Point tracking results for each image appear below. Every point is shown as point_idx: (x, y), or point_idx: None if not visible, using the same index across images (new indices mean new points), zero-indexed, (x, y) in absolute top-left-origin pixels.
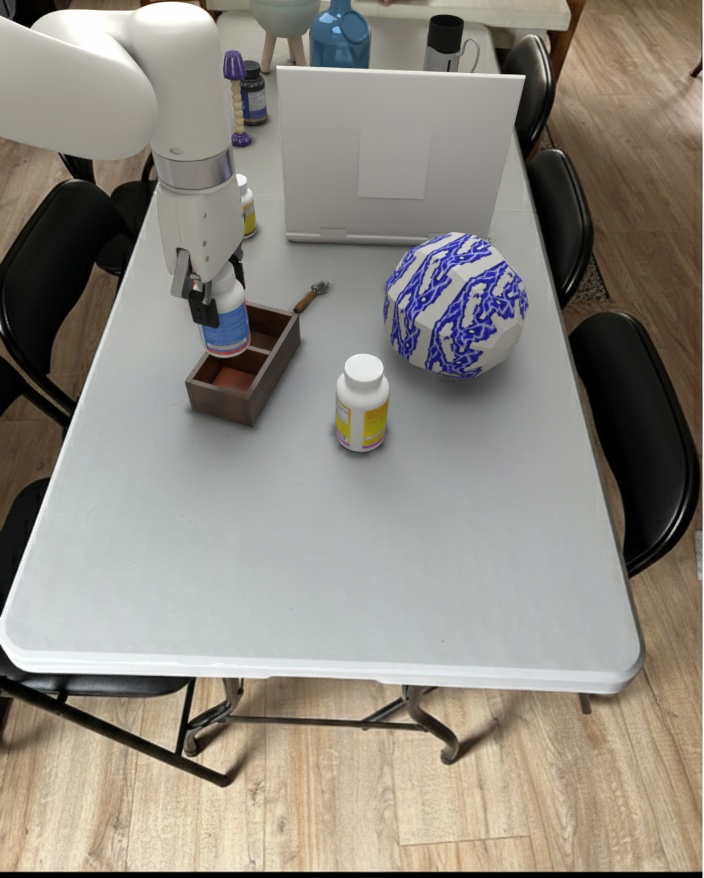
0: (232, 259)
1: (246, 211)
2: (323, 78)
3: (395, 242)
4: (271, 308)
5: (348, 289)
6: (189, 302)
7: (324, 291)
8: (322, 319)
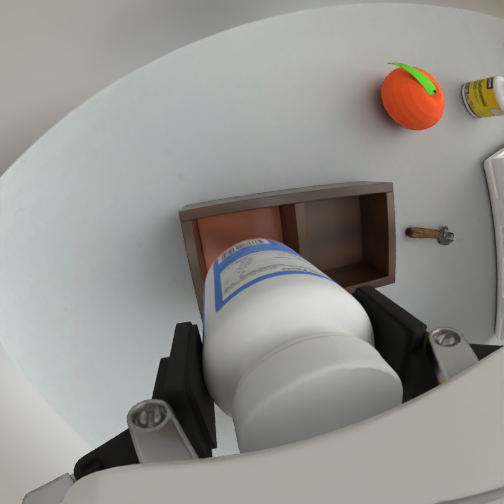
0: (413, 395)
1: (496, 110)
2: None
3: (499, 271)
4: (393, 238)
5: (450, 263)
6: (168, 371)
7: (442, 244)
8: (407, 265)
